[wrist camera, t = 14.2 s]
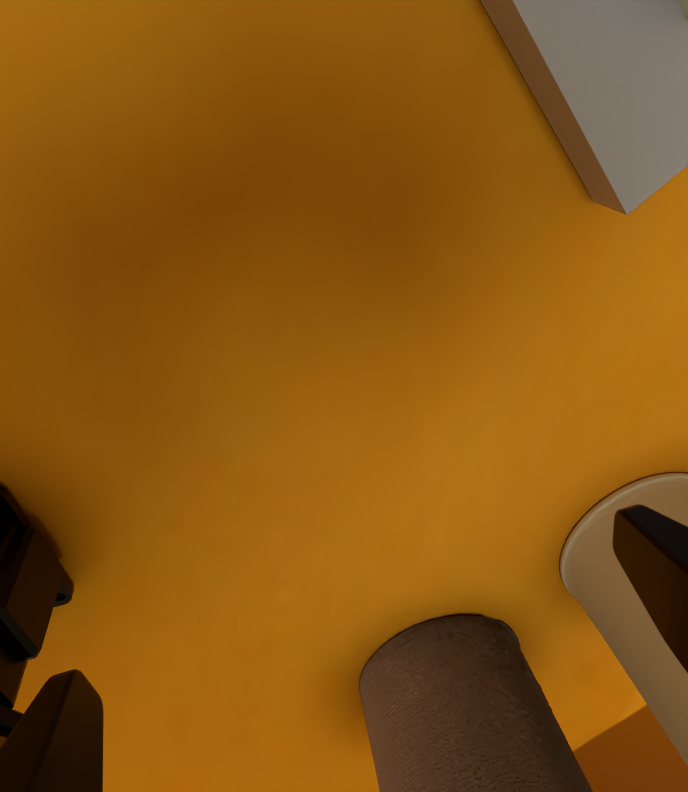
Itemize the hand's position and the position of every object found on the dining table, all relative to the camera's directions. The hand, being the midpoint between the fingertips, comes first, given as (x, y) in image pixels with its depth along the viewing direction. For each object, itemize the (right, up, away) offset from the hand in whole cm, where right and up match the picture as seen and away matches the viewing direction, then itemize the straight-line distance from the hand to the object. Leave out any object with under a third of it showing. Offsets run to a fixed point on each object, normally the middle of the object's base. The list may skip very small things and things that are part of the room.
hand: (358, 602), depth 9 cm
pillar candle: (+5, -12, +24) cm, 28 cm away
